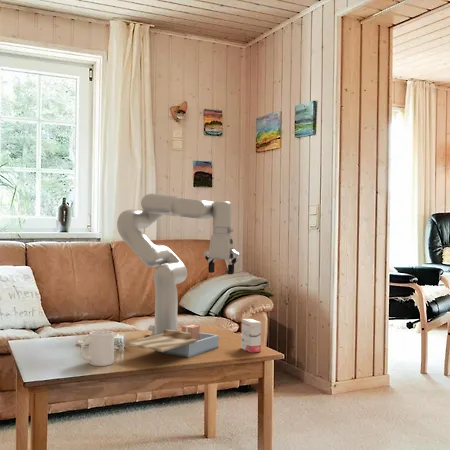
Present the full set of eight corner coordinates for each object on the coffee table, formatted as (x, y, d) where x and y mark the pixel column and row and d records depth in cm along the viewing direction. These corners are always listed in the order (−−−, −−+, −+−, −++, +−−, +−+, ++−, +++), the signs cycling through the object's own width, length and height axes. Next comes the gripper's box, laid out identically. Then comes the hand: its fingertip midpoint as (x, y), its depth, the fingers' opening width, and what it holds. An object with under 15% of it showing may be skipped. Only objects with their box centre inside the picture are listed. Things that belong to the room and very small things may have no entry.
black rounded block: (74, 346, 229) (74, 336, 229) (86, 342, 237) (86, 332, 237) (92, 349, 226) (93, 338, 226) (104, 345, 233) (105, 334, 233)
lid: (126, 344, 210) (126, 337, 210) (161, 335, 227) (161, 328, 227) (162, 351, 201) (162, 343, 201) (196, 341, 219) (196, 334, 219)
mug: (75, 363, 203) (75, 332, 202) (106, 359, 210) (107, 329, 210) (85, 369, 196) (86, 337, 196) (118, 364, 203) (118, 333, 203)
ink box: (261, 352, 227) (262, 322, 227) (249, 353, 225) (250, 322, 225) (251, 347, 235) (252, 318, 235) (240, 348, 233) (241, 318, 233)
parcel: (188, 344, 233) (189, 324, 233) (199, 346, 231) (199, 325, 230) (181, 346, 229) (181, 326, 229) (191, 348, 226) (192, 327, 226)
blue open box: (154, 351, 224) (155, 338, 224) (185, 342, 241) (185, 330, 240) (188, 357, 215) (189, 344, 215) (218, 347, 232) (218, 335, 232)
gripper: (244, 232, 236) (243, 274, 236) (210, 230, 246) (209, 271, 246) (234, 232, 230) (233, 275, 230) (199, 230, 240) (198, 272, 240)
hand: (221, 273), depth 238 cm, fingers open, 9 cm apart
